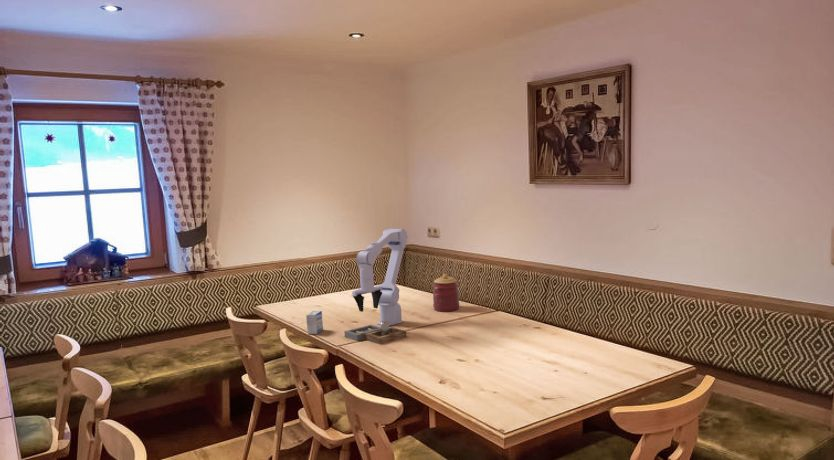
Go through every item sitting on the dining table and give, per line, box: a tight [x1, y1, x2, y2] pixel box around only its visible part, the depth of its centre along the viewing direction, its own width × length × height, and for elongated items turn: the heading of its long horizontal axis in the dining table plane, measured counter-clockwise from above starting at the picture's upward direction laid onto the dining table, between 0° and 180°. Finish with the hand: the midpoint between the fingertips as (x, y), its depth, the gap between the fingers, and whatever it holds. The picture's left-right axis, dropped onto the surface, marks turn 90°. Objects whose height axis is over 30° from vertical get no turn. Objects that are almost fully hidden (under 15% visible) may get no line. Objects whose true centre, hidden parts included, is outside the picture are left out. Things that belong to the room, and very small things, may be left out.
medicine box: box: [305, 310, 324, 335], centre depth 265 cm, size 8×4×9 cm, turn 168°
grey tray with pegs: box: [344, 324, 381, 342], centre depth 256 cm, size 14×9×3 cm
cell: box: [379, 321, 390, 336], centre depth 250 cm, size 4×4×6 cm
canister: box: [432, 273, 461, 313], centre depth 296 cm, size 13×13×18 cm
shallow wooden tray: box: [364, 326, 407, 345], centre depth 251 cm, size 14×10×2 cm
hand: (368, 309), depth 260 cm, fingers open, 7 cm apart
